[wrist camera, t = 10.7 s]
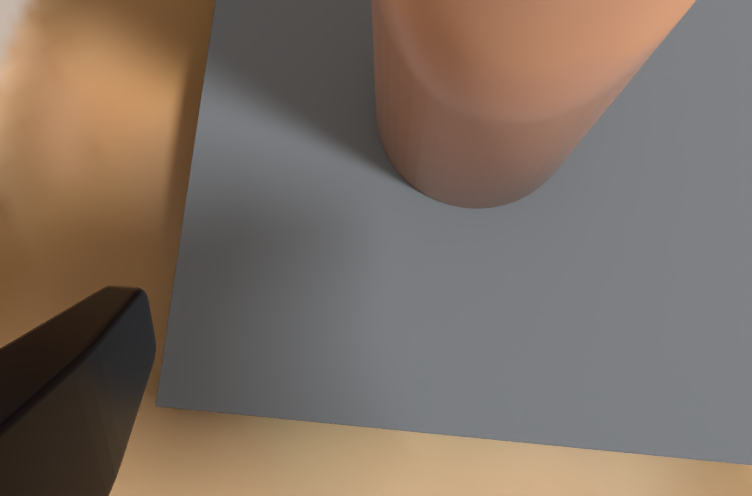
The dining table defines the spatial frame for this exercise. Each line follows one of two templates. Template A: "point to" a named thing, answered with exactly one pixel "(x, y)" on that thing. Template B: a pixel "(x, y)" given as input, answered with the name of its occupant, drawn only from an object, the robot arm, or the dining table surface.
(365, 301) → the rubber mat
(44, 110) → the dining table surface
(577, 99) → the wooden peg
